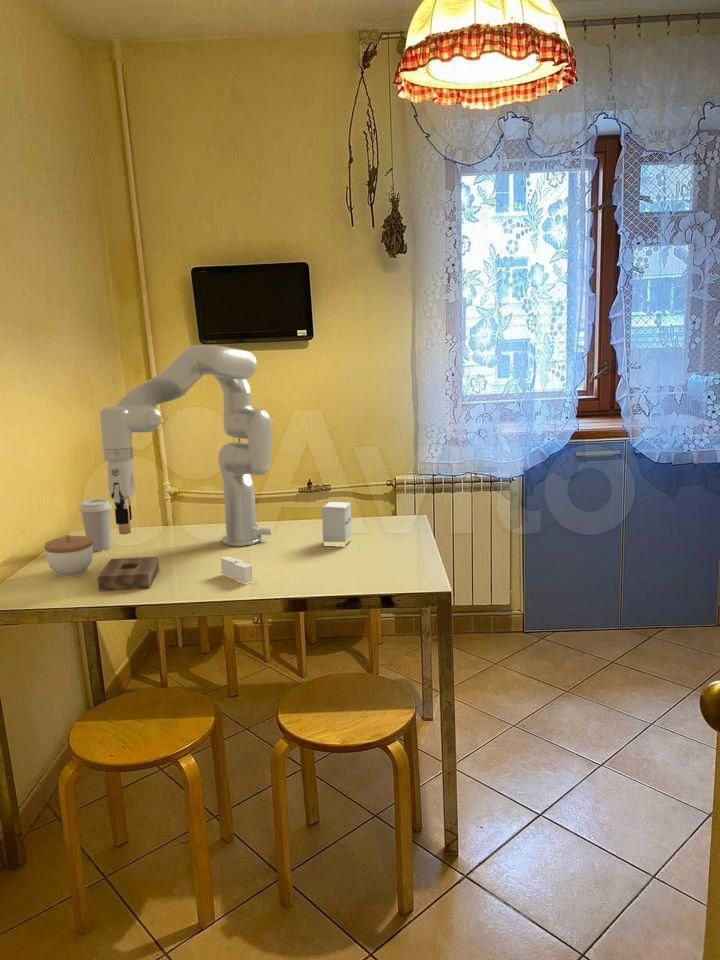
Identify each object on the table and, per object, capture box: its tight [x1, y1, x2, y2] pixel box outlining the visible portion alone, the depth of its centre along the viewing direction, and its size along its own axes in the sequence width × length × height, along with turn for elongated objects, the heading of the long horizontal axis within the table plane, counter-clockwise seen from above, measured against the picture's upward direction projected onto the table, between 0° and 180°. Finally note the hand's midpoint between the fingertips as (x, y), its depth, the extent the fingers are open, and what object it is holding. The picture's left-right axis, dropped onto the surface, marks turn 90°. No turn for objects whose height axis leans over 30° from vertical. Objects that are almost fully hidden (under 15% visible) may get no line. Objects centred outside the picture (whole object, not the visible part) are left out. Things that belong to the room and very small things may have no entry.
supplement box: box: [321, 501, 353, 543], centre depth 232 cm, size 7×7×13 cm
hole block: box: [97, 556, 160, 592], centre depth 204 cm, size 13×15×4 cm
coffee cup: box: [79, 498, 113, 552], centre depth 233 cm, size 10×10×15 cm
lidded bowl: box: [44, 534, 94, 578], centre depth 211 cm, size 13×13×11 cm
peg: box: [117, 496, 131, 535], centre depth 201 cm, size 3×3×10 cm
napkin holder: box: [220, 555, 253, 583], centre depth 202 cm, size 15×11×6 cm
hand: (124, 521), depth 201 cm, fingers closed on peg, 3 cm apart
